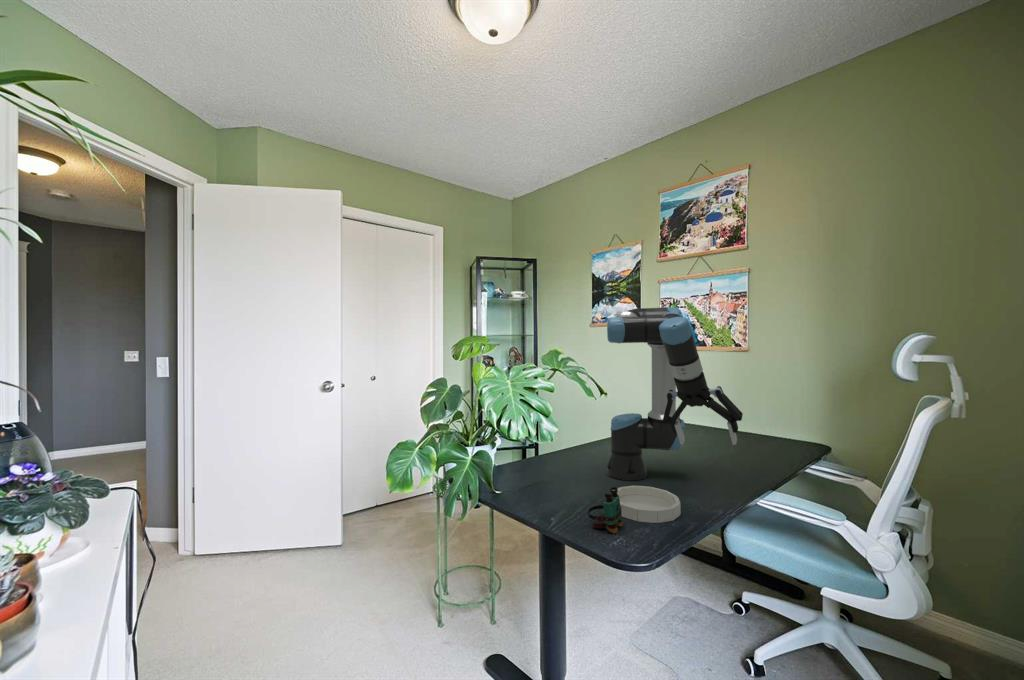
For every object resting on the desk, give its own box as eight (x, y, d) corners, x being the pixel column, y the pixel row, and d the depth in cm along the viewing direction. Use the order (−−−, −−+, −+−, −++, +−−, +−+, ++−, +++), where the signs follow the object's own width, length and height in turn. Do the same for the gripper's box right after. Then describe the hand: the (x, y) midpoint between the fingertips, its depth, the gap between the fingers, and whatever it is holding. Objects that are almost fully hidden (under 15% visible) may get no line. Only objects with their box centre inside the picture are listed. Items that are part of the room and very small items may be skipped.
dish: (599, 509, 131) (599, 498, 131) (630, 491, 145) (630, 481, 145) (662, 529, 117) (662, 516, 117) (689, 507, 132) (689, 496, 132)
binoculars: (591, 483, 126) (624, 486, 121) (595, 519, 126) (628, 523, 120) (579, 493, 119) (614, 496, 113) (583, 531, 118) (618, 536, 113)
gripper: (638, 385, 116) (659, 449, 121) (738, 376, 100) (758, 450, 106) (646, 372, 121) (666, 434, 127) (742, 362, 106) (760, 433, 111)
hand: (708, 441), depth 116 cm, fingers open, 13 cm apart
